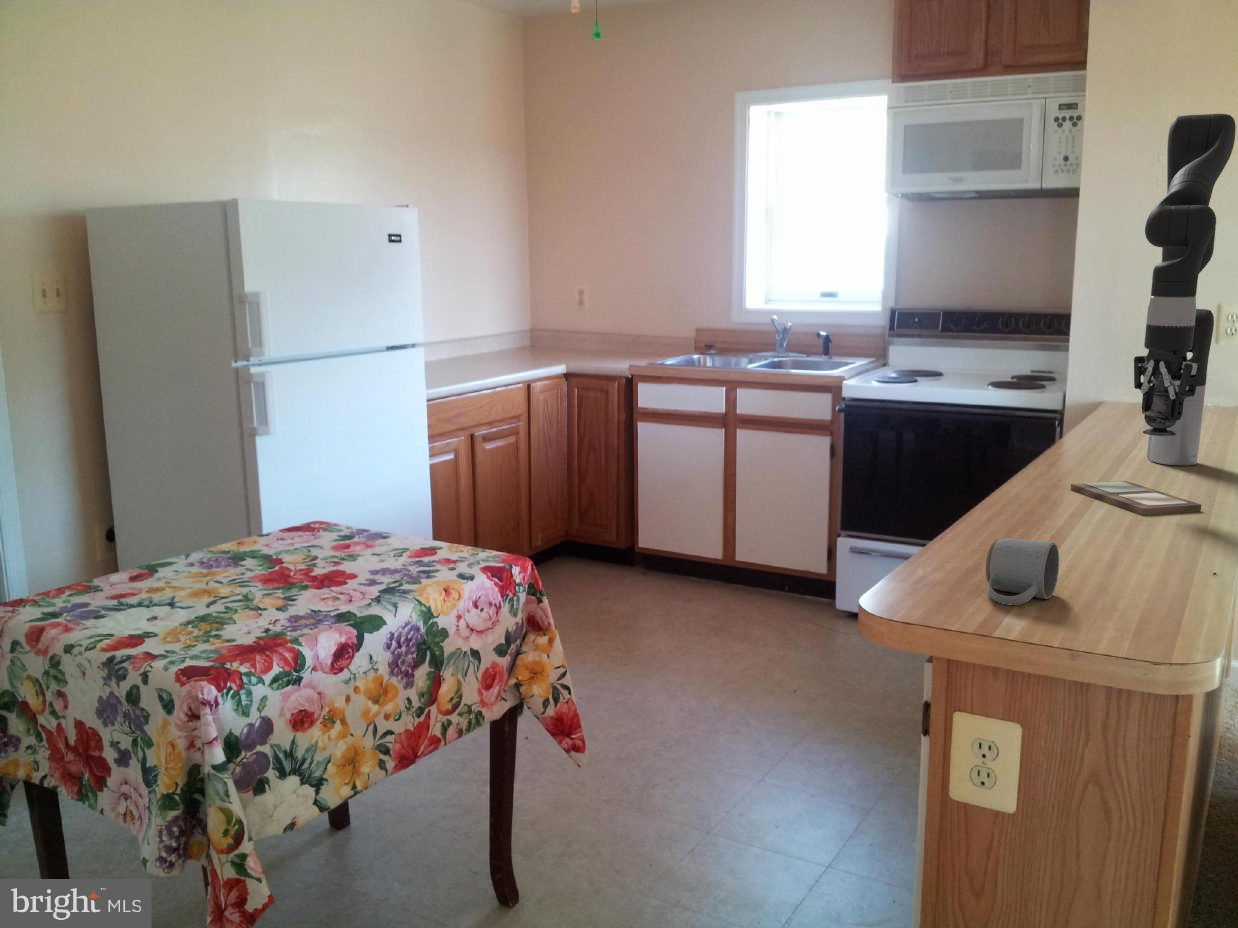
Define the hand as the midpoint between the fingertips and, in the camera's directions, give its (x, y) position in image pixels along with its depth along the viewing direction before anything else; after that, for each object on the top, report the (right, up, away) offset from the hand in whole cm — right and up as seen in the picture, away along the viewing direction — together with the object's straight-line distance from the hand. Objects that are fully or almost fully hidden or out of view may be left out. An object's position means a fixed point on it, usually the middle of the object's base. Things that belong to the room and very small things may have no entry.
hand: (1160, 416), depth 183 cm
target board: (-1, -15, +8) cm, 17 cm away
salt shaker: (0, -3, +1) cm, 3 cm away
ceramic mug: (-42, -27, -44) cm, 66 cm away
